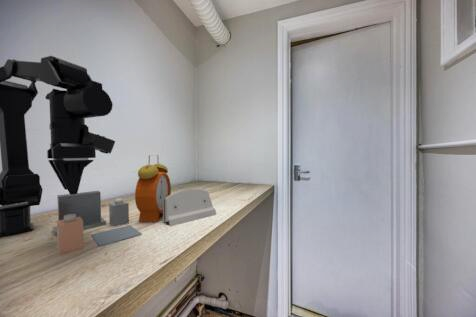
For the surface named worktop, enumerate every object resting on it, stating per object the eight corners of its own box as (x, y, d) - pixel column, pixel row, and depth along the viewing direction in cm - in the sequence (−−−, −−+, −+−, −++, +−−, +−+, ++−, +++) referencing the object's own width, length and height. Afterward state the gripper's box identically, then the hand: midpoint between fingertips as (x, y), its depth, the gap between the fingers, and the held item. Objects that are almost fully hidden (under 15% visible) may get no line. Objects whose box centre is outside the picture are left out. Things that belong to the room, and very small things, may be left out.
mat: (91, 235, 50) (91, 234, 50) (129, 225, 57) (129, 225, 57) (99, 246, 44) (99, 245, 44) (141, 234, 50) (141, 233, 50)
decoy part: (109, 223, 59) (109, 199, 59) (124, 220, 62) (124, 197, 61) (113, 226, 56) (112, 201, 56) (128, 223, 59) (128, 199, 59)
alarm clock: (155, 223, 58) (154, 155, 58) (134, 223, 58) (133, 155, 58) (171, 210, 71) (171, 155, 71) (154, 210, 72) (154, 155, 71)
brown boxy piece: (57, 248, 44) (56, 215, 43) (80, 242, 46) (79, 211, 46) (59, 254, 41) (58, 219, 41) (83, 247, 44) (82, 215, 43)
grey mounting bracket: (169, 226, 56) (163, 191, 58) (162, 228, 59) (158, 194, 61) (217, 214, 67) (211, 185, 69) (209, 215, 70) (204, 188, 73)
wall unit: (53, 230, 53) (52, 195, 53) (101, 220, 61) (101, 189, 61) (54, 236, 50) (53, 198, 50) (106, 224, 58) (105, 191, 57)
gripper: (123, 118, 43) (125, 191, 43) (101, 127, 56) (103, 183, 56) (52, 111, 35) (55, 200, 35) (46, 123, 47) (48, 188, 48)
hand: (70, 191), depth 44 cm, fingers open, 9 cm apart
